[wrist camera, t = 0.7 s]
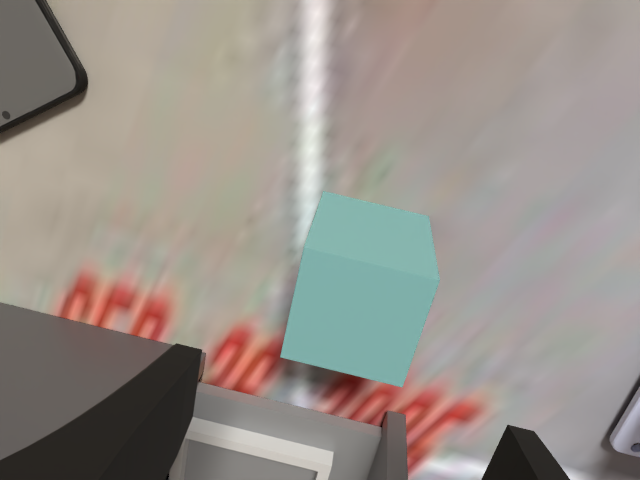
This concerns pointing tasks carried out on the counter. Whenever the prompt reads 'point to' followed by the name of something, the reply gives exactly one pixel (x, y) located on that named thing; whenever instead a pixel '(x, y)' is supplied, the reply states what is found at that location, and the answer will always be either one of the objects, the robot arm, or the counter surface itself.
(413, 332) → the block
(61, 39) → the smartphone
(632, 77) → the counter surface
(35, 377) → the dark grey cuboid box
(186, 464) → the tray
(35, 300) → the counter surface
